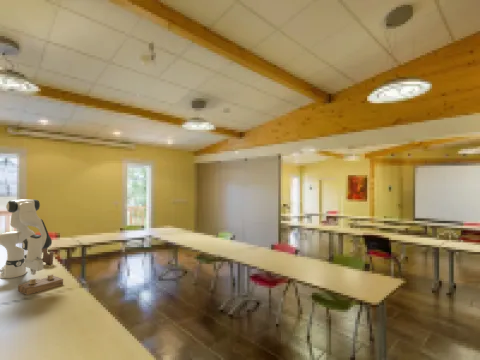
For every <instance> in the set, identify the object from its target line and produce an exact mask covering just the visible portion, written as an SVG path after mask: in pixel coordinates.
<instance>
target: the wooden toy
mask: <svg viewBox="0 0 480 360" xmlns="http://www.w3.org/2000/svg"><path fill="white" fill-rule="evenodd" d="M41 259H42V260H43V263H45V264H46V265H49V266H52V265H54V251H49V253H48V248H47V249H42V258H41Z"/></svg>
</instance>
